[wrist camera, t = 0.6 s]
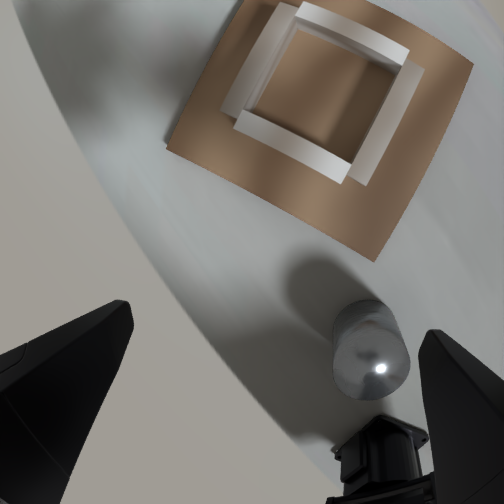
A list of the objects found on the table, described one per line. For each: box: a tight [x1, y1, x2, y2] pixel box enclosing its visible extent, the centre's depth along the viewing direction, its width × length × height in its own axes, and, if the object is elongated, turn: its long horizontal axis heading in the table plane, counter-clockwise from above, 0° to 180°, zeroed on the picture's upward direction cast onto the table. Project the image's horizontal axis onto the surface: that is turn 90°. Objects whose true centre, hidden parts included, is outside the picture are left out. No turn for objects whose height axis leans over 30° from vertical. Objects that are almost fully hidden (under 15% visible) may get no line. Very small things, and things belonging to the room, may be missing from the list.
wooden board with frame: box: [166, 0, 474, 262], centre depth 16 cm, size 15×15×3 cm
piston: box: [333, 300, 410, 400], centre depth 18 cm, size 4×4×5 cm
